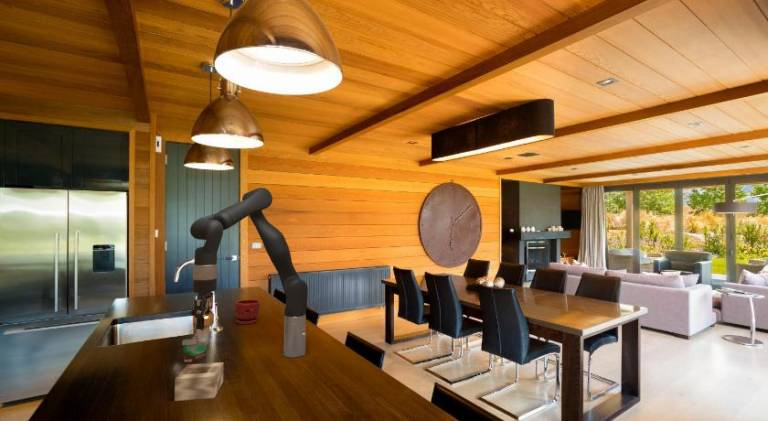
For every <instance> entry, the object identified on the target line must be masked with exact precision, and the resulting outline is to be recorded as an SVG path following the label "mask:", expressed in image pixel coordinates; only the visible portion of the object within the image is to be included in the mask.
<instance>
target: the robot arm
mask: <svg viewBox="0 0 768 421" xmlns="http://www.w3.org/2000/svg"><path fill="white" fill-rule="evenodd" d="M272 203H273V195H272V192H270V190H269V189H267V188H265V187H258V188H255V189H252V190H250V191H247V192H245V193H244V194H243V195H242V200H241V201H239V202H236V203H234V204H231V205H229V206H227V207H225V208H223V209H221V210H219V211H218V212H216V213H213V214H210V215H206V216H204V217H201V218H200V217H199V218H198V219H196V220H195V221H194V222H193V223H192V224H191V226H190V228H189V231H190V232H189V234H190V235H191V237H192V238H194V239H196V240H200V241H205V242H204V245H203V246H199V247H196V249H195V250H194V265H193V271H192V290H191V291H192V292H193V293H197V294H198V295H197V297H196V298H195V299H194V302H193V303H194V304H193V307H194V308H193V310H194V313H193V315H194V317H196V318H197V326H195V329H196V330H197V329H203V328H204V317H205V313H212V309H213V303H214V292H216V291H217V287H218V251H219V248H220V245H221V241H222V238H223V235H224V231H225V230H226V231H227V229H229V228H231V227H233V226H235V225H236V224H237V223H239V222H241V221H242V220H244V219H245V218H247V217H249V218H250V220H251V222H252V223H253V226H255V228H256V231H257V233H258V235H259V238H260V240H261V241H262V244H263V247H264V249H265V251H266V253H267V257H269V259H270V261H271V263H272V265H273V267H274V268H275V270H276V273H277V274H278V276H279V280H280V283H281V286H282V289H283V292H284V294H285V295H286V297H285V298H286V299H285V302H286V303H285V308H284V311H283V312H284V315H283V316H284V317H283V318H284V319H283V325H284V326H283V356H284V357H286V358H298V357H302V356H303V357H304V356H306V337H307V336H306V334H307V333H306V328H307V327H306V319H307V318H306V317H307V315H306V314H307V308H308V297H309V295H308V293H309V292H308V291H309V288H308V285H307V282H306V281H305V280H304V279H302V278H300V276H299V275H298V272H297V271H296V269H295V266H294V264H293V259H292V254H291V252H290V247H289V244H288V242H287V241H286V237H285V236H284V234H283V233H282V232H281V230H280V229H278V228H277V227H276V226H275V225H273V224H272V223H271V222H269V220H267V218H266V217H265V215H264V213H263V211H264V210H265V209H268V208H269V207H270V206H271V205H272ZM199 313H201V314H199Z"/></svg>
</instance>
